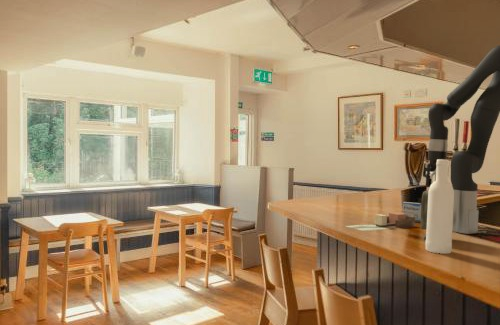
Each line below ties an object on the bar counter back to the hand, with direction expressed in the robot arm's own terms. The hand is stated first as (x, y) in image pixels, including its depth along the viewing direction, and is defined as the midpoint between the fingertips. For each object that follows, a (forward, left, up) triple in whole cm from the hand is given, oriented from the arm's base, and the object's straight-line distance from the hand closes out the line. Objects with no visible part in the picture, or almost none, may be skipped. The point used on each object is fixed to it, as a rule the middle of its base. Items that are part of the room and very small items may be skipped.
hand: (434, 187), depth 185 cm
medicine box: (+13, -1, -18) cm, 21 cm away
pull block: (+6, +20, -17) cm, 27 cm away
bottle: (-32, +39, -17) cm, 54 cm away
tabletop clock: (-19, +23, -17) cm, 35 cm away
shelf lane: (+6, +26, -17) cm, 31 cm away
